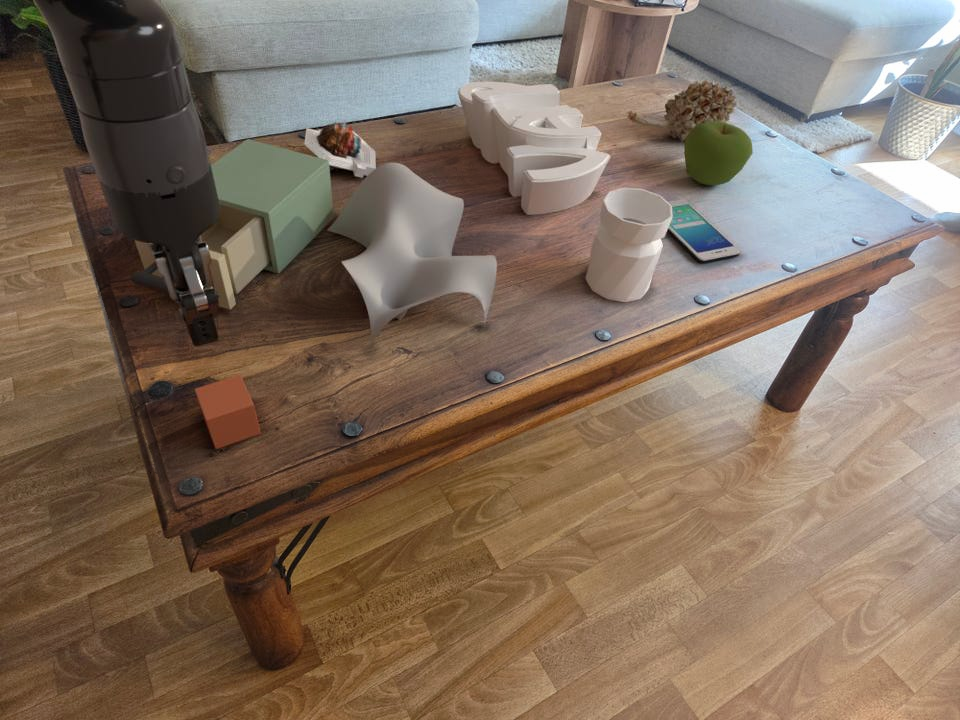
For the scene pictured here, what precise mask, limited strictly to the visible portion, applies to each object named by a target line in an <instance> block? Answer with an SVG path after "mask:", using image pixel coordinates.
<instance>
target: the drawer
mask: <svg viewBox="0 0 960 720" xmlns="http://www.w3.org/2000/svg"><path fill="white" fill-rule="evenodd" d="M201 238H202V241H205V242H206V244H207V246H208V249H209V253H210V257H211V264H210V265H209V267H210V271H211V275H212V279H213V283H214V289H215V292H218V295H219V298H218V301H219V306H218V307H220V308H223V309H226V310H232V309H233V308H234V307H235V306H236V305H237V303H236V298H235V295H238V294H239V293H240V292H241V291H242V290H243V289H244V288H245V287H246V286H247V285H248V284H249V283H250V282H252V280H254V279H255V278H256V276H258V275H259V273H261V271H263V270H264V269H263V268H265V267H266V266H267V265H268V264H269V263H270V262H271V255H270V249H269V244H268V238H267V232H266V227H265V221H264V217H262V216H258V215H255V214H251V213H248V212H244V211H241V210H237V209H234V208H230V207H227V206H223V205H220V214H219V217H218V219H217V221H216V222H215V224H214V225H213V226H212V227H211V228H209V229H208V230H207V231H205V232H204V233H203V234H201ZM134 243H135V246H136V249H137V252H138V255H139V257H140V261H141V264H142V266H143V270H140V269H137V270H135V271H133V273H132V275H131V282H132V283H133V284H135V285H138V286H140V287H144V288H147V289H150V290H153V291H156V292H159V293H162V294H165V295H169V296H170V294H169V292H168V289H167V286H166V284H165V282H164V279H163V277H162V275H161V274H160V273H159V270H158V268H157V265H156V263H155V260H154V257H153V256H152V253H151V251H150V248H149V246H148V243H144V242H139V241H136V240H134Z"/></svg>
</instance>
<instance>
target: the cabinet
mask: <svg viewBox="0 0 960 720" xmlns="http://www.w3.org/2000/svg"><path fill="white" fill-rule="evenodd" d="M211 168H212V172H213V177H214V181H215V186H216V190H217V195H218V199H219V203H220V205H223V206H227V207H230V208H234V209H237V210H241V211H244V212H248V213H251V214H255V215H258V216H262V217H264V221H265V227H266V232H267V238H268V244H269V249H270V255H271V262H270V263H269V264H268V265H267V266H266V267H265V268H263V269H262V270H265V271H268V272H272V273H273V274H274V273H275V274H278V275H280V273H281V272H282V271H283V270H284V269H286V268H287V266H288V265H290V263H291V262H292V261H293V260H294V259H295V258H296V257H297V256H299V254H301V252H302V251H303V250H304V249H306V247H307V246H308V245H309V244H310V243H311V242H312V241H313V240H314V239H315V238H316V237H317V236H318V235H319V234H320V233H321V232H322V230H324V229H325V228H326V227H327V226H328V225H329V223H331V222H332V221H333V220H334V218H335V216H334V215H335V214H334V205H333V194H332V193H333V192H332V180H331V171H330V169H329V160H325V159H321V158H318V157H317V156H315V155H309V154H306V153H302V152H299V151H295V150H291V149H287V148H283V147H280V146H276V145H273V144H268V143H265V142H260V141H257V140H253V139H249V138H247V139H246V140H244V141H243V142H241V143H240V144H239V145H237V146H236V147H233V148H232V149H231V150H230V151H228V152H227V153H225V154H224V155H223V156H222V157H220V158H219V159H217V160H216V161H215V162H213V163H212V164H211Z"/></svg>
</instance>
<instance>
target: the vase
mask: <svg viewBox="0 0 960 720" xmlns="http://www.w3.org/2000/svg"><path fill="white" fill-rule="evenodd" d="M672 217H673V213H672V206H671V205H670V204H669V203H668V201H667V200H666V199H665V198H664V197H662V195H660V194H658V193H654V192H652V191H650V190H646V189H644V188H636V187H620V188H617V189H613V190H610V191H608V193H607V194H606V196H605V197H604V199H602V204H601V207H600V213H599V219H600V224H599V225H598V227H597V230H596V233H595V235H594V239H593V242H592V245H591V249H590V254H589V261H588V266H587V267H588V268H587V272H586V273H585V281H586V282H587V284H588V286H589V288H590V289H591V291H592V292H593V293H596V294H597V295H599V296H600V297H602V298H604V299H605V300H608V301H615V302H621V303H630V302H633V301H637V300H641V299H642V298H643V297H644V296H645V295H646V293H647V292H648V291H649V288H650V287H651V282H652V279H653V275H654V272H655V270H656V268H657V265H658V262H659V260H660V256H661V254H662V250H663V247H664V245H663V242H662V239H663V238H665V237H666V234H667V233H668V232H667V230H668V227H669V225H670V222H671V220H672Z"/></svg>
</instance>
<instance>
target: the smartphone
mask: <svg viewBox="0 0 960 720" xmlns="http://www.w3.org/2000/svg"><path fill="white" fill-rule="evenodd" d="M667 202H668V203H669V204H670V205H671V206H672V213H673V217H672V220H671V222H670V225H669V227H668V230H667V232H666V233H668V234H669V235H670V236H671V237H672V238H673V239H674V240H675V241H676V242H677V243H678V244H679V245H680V246H681V247H682V248H683V249H684V250H685V251H686V252H687V253H688V254H689V255H690V256H691V257H692V258H693V259H694V260H695V261H696V262H698V263H700V264H706V263H712V262H717V261H722V260H727V259H731V258H737V257H739V256H740V255H741V249H740V248H739V246H738V245H736V244H735V243H734V242H733V241H732V240H731V239H729V237H727V236H726V235H725V234H724V233H723V232H722V231H720V230H719V228H718V227H716V225H714V224H713V223H712V222H711V221H709V219H707V218H706V217H705V216H704V215H703V214H702V213H701V212H700V211H699V210H697V209H696V208H695V207H694V206H693V205H692V204H691V203H690V202H689V201H688V200H686V199H675V200H669V201H667Z"/></svg>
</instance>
